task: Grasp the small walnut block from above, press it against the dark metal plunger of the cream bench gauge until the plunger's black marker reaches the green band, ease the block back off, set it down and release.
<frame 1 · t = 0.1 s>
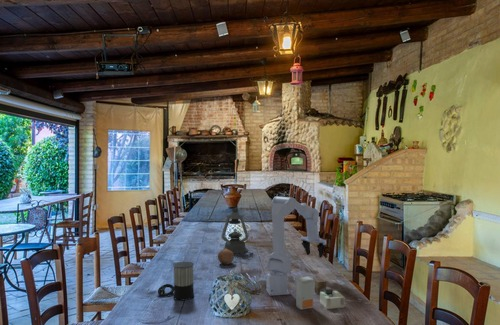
hand: (314, 255, 201), 11 cm above the table, tool pointing down, fingers open, 7 cm apart
lantern: (235, 250, 257), on the table
walnut block: (320, 293, 175), on the table
plunger: (327, 292, 167), point 3 cm above the table, slide at 0.0 cm
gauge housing: (329, 302, 164), on the table
onion: (225, 264, 224), on the table
skincare box: (305, 307, 159), on the table
milk frother: (175, 296, 173), on the table
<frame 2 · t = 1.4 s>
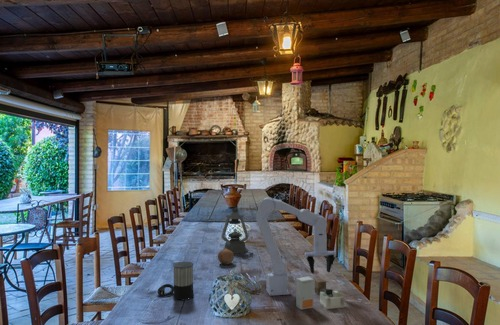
hand: (320, 272, 175), 10 cm above the table, tool pointing down, fingers open, 7 cm apart
nothing on the table moved.
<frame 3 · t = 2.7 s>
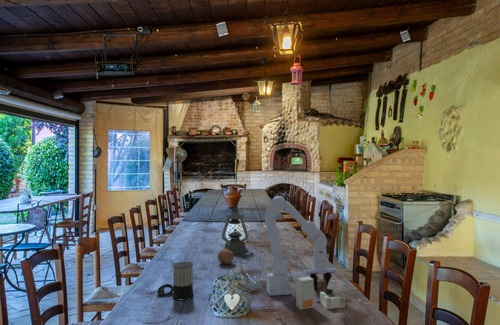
hand: (320, 289, 175), 2 cm above the table, tool pointing down, fingers closed on walnut block, 4 cm apart
walnut block: (320, 293, 175), on the table, touching gripper
everything else where it was.
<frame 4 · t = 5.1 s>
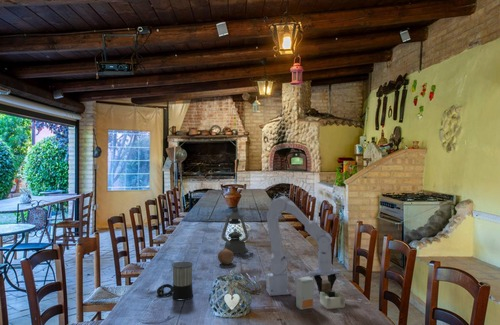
hand: (324, 291, 169), 3 cm above the table, tool pointing down, fingers closed on walnut block, 4 cm apart
walnut block: (324, 295, 170), point 1 cm above the table, touching gripper, plunger
plunger: (329, 294, 164), point 3 cm above the table, slide at 2.7 cm, touching walnut block
everything else where it was.
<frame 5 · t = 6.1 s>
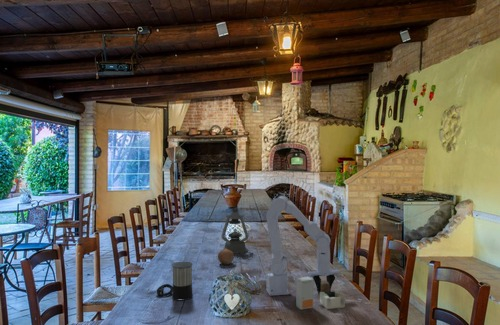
hand: (323, 291, 171), 2 cm above the table, tool pointing down, fingers closed on walnut block, 4 cm apart
walnut block: (323, 295, 171), on the table, touching gripper
plunger: (329, 294, 164), point 3 cm above the table, slide at 2.7 cm
everything else where it was.
when the fingers open (2 cm above the table, at t = 6.6 s): walnut block stays where it is, on the table.
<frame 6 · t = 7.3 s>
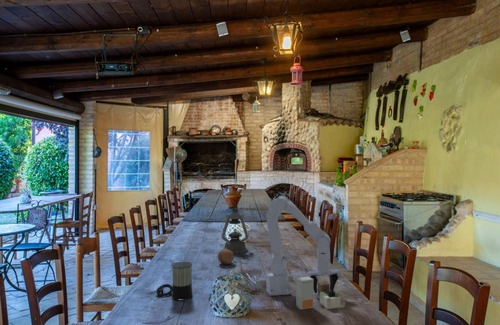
hand: (323, 291, 171), 2 cm above the table, tool pointing down, fingers open, 7 cm apart
walnut block: (323, 296, 171), on the table
everything else where it was.
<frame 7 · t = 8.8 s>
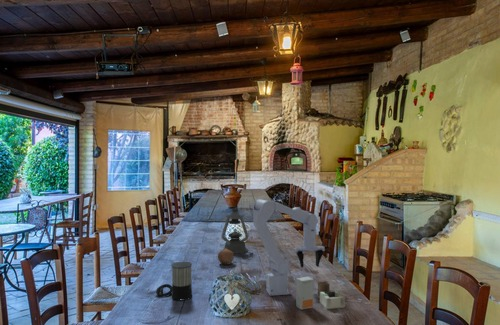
hand: (309, 266, 183), 10 cm above the table, tool pointing down, fingers open, 7 cm apart
nothing on the table moved.
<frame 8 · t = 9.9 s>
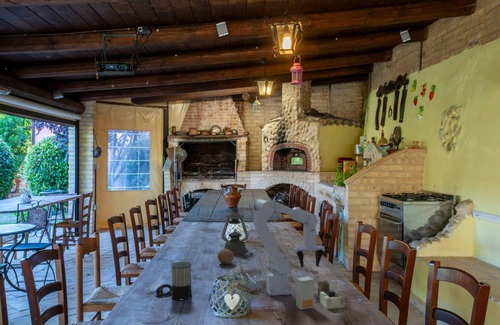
hand: (309, 266, 183), 10 cm above the table, tool pointing down, fingers open, 7 cm apart
nothing on the table moved.
at the end: plunger slide at 2.7 cm; walnut block touching table; walnut block tilted 0° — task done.
